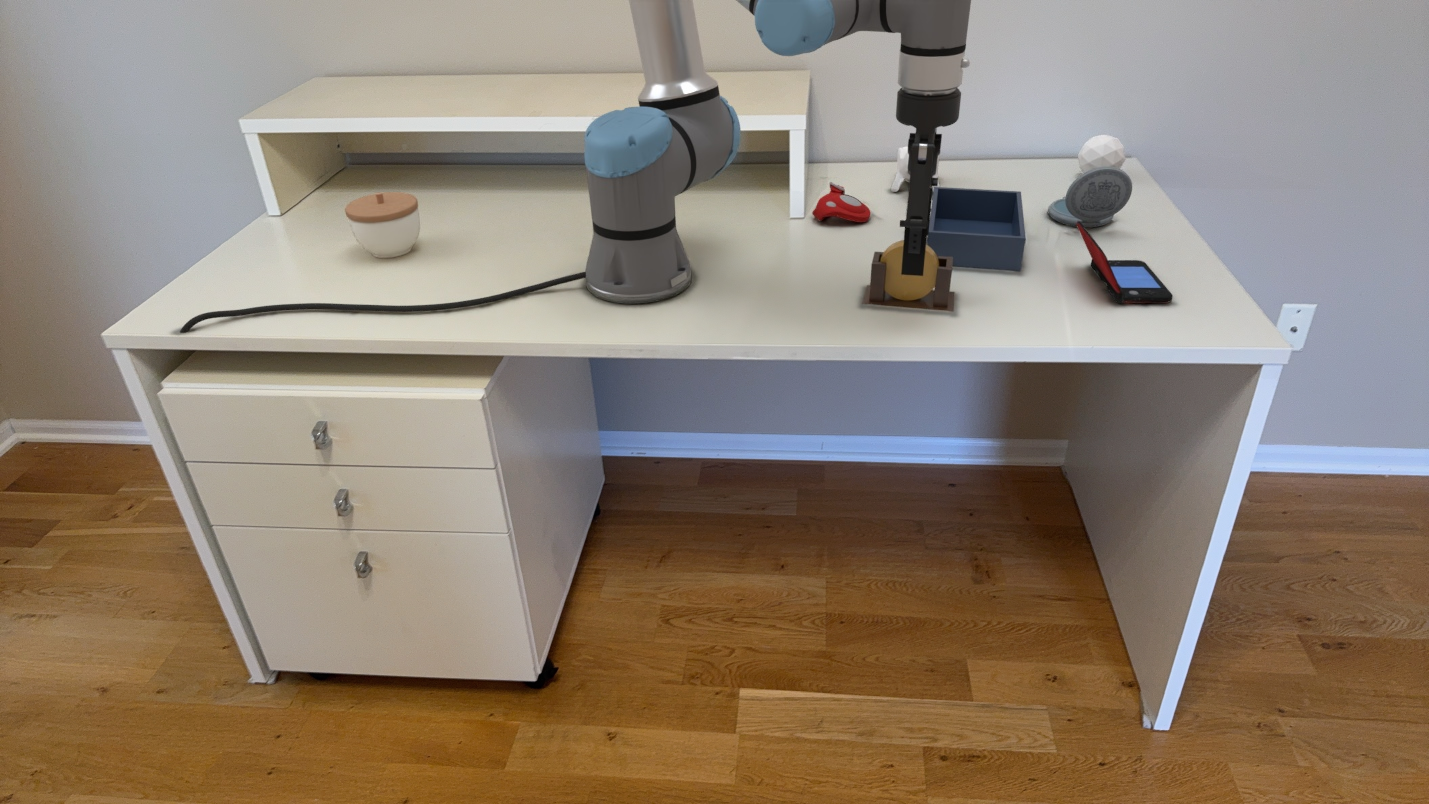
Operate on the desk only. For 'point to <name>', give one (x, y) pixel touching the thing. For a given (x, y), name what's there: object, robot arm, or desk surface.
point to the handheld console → (1125, 276)
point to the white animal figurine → (906, 169)
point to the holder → (931, 301)
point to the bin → (978, 227)
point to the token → (908, 284)
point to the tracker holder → (841, 206)
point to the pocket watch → (1093, 198)
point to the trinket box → (385, 223)
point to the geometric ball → (1101, 153)
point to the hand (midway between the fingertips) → (915, 253)
